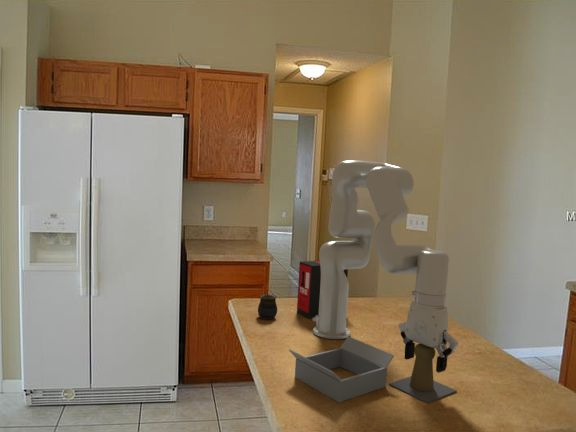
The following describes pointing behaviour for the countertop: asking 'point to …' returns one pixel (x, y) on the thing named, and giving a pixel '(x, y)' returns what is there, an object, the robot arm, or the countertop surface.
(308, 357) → the carton
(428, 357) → the cork
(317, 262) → the cleaning product box
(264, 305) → the mate gourd
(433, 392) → the rubber mat
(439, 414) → the countertop surface
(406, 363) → the countertop surface
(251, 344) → the countertop surface
